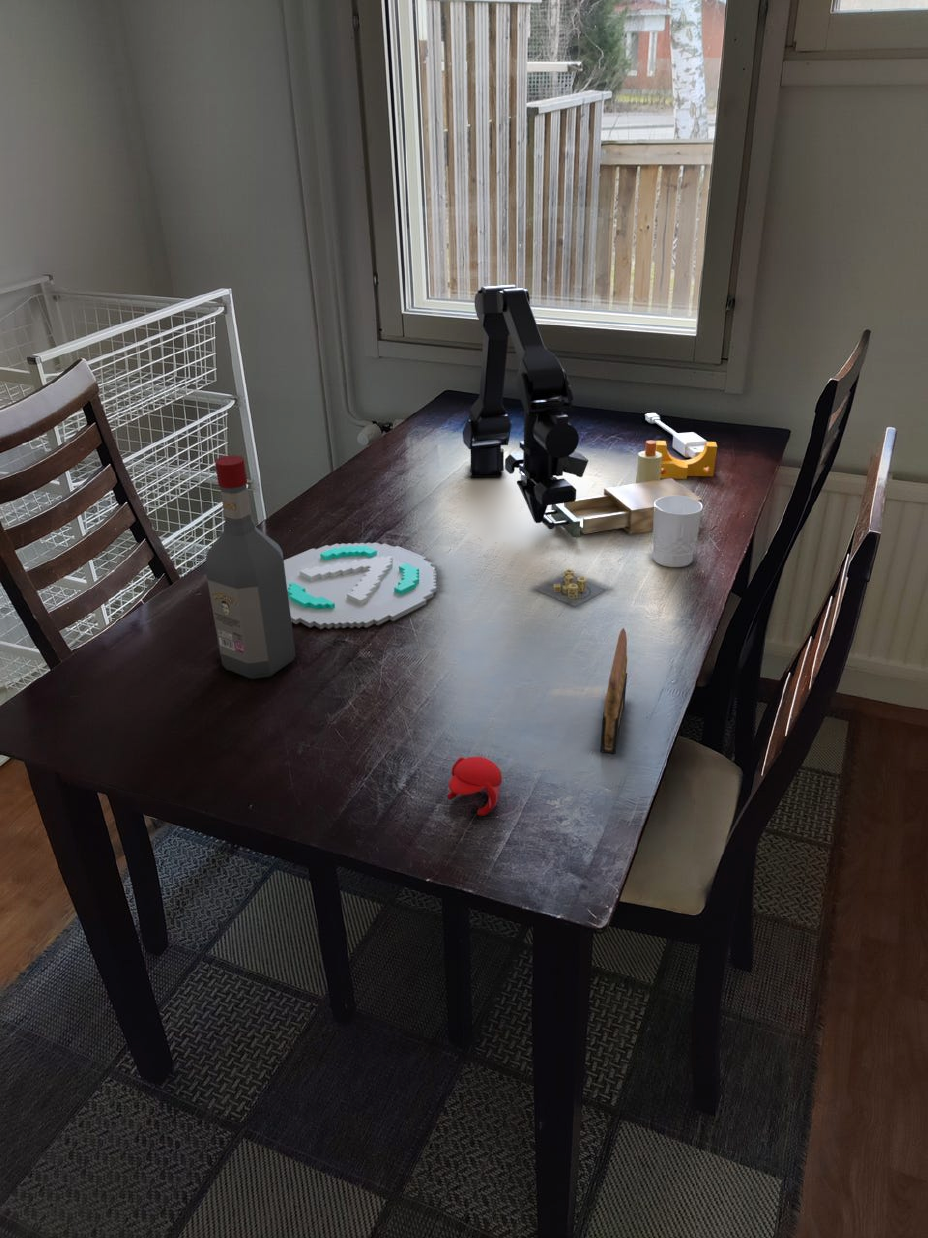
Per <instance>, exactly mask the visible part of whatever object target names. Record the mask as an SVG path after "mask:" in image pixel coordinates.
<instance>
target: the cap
mask: <svg viewBox="0 0 928 1238" xmlns="http://www.w3.org/2000/svg"><path fill="white" fill-rule="evenodd" d="M451 776H452V777H451V778H450V780H449V782H448V789H449V790H450V792H448V793H447V799H448V800H449V801H451V800H453V799H454V798H455V797H457V796H468V795H473V794H477V793H479V792H481V791H483V790H485V792H486V793H487V795H488V800H487V802H486V804H485V805H484V806H483V807H481V808H478V809H477V815H478V816H479V817H483V816H484V817H485V816H486V815H487V814H489V813H491V812H492V810H493V809H494V808H495V807H496V805H497V803H498V801H499V795H500V791H501V784H502V780H503V776H502V772H501V769H500V768H499V766H498V765H497V764H496V763H495V762H494V761H492V760H491V759H488V758H486V757H483V756H469V757H466V758H465V757H462V756H461V757H459V758H458V759H457V760H456V761H455V762H454V764H453V765H452V768H451Z"/></svg>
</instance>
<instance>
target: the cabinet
mask: <svg viewBox="0 0 928 1238" xmlns="http://www.w3.org/2000/svg"><path fill="white" fill-rule="evenodd" d="M607 494H609V495H610V496H611V497H612V498H614V499H615V500H616V501H617V502H619V503H620V504H621V505H622V506H624V507H625V508H626V509H627V510H628V511H630V523H629V527H623V528H622V529H623V530H624V531H626V532H627V533H628V534H629V535H633V534H640V533H645V532H653V518H654V502H655V501H656V500H657V499H659V498H661V497H665V496H685V497H690V498H693V499H695V500H697V501H699V502H700V503H701V504H702V503H703V498H701V497H699V496H698V495H697V494H695V493H693V492H692V491H691V490H689V489H688V488H686V487H685V486H683V485H682V484H681V483H679V482H678V481H676V480H675V479H672V478H660V480H655V481H648V482H641V483H636V482H635V483H629V484H622V485H616V486H615V485H614V486H607V487H604V488H603V495H607Z"/></svg>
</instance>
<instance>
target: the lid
mask: <svg viewBox="0 0 928 1238" xmlns="http://www.w3.org/2000/svg"><path fill="white" fill-rule="evenodd" d="M283 560H284V568H285V575H286V583H287V591H288V599H289V607H290V615H291V623H292V624H295V625H298V624H300V623H301V624H302V625H305V626H306V627H309V628H313V627H317V628H318V629H319V630H322V629H324V628H325V629H328V630H329V629H332V628H334V629H338V628H342V629H346V628H347V627H348V628H350V629H353V628H354V627H356V628H358V629H360V628H361V627H364V628H366V629H367V628H369V627H370V626H372V625H376V626H380V625H381V624H383V623H385V622H388V621H389V620H390V621H391V622H395V621H397V620H398V619H400V618H402V617H404V616H406V615H408V614H409V613H412V612H414V611H415V610H417V609H419V608H421V607H423V606H425V605H427V601H428V600H430V599H432V598H434V594H435V593H437V592H438V577H437V575H438V574H437V573H438V571H437V570H438V569H437V567H435V566H434V563H432V562H430V561H428V560H427V557H426V556H424V555H421V554H418V553H416V552H413V551H411V550H408V549H407V548H404V547H401V546H399V545H396V546H392V545H390V544H387V543H386V542H384V543H381V544H380V543H378V542H377V541H375V542H366V543H364V542H360V543H358V542H354V543H351V542H349V543H344V542H343V543H340V544H339V543H334V544H331V545H328V544H326V545H323V546H320V547H319V548H310V549H307V550H306V551H303V552H300V553H298V554H296V555H293V556H291V557H289V558H287V559H283Z"/></svg>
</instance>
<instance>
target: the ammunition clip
mask: <svg viewBox="0 0 928 1238" xmlns="http://www.w3.org/2000/svg"><path fill="white" fill-rule="evenodd" d="M615 646H616V647H615V652H614V655H613V660H612V665H611V669H610V674H609V678H608V685H607V691H606V694H605V699H604V701H605V702H604V710H603V714H602V722H601V734H600V745H599V746H600V749H599V751H600V752H601V753H609V754H615V755H616V751H617V747H618V742H619V737H620V731H621V725H622V722H623V721H622V720H623V715H624V710H625V705H626V695H627V694H626V693H627V681H628V673H627V670H628V669H627V668H628V654H627V653H628V652H627V651H628V648H627V647H628V638H627V632H626V630H625V628H621V630H620V632H619V634H618V638H617V642H616V645H615Z"/></svg>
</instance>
